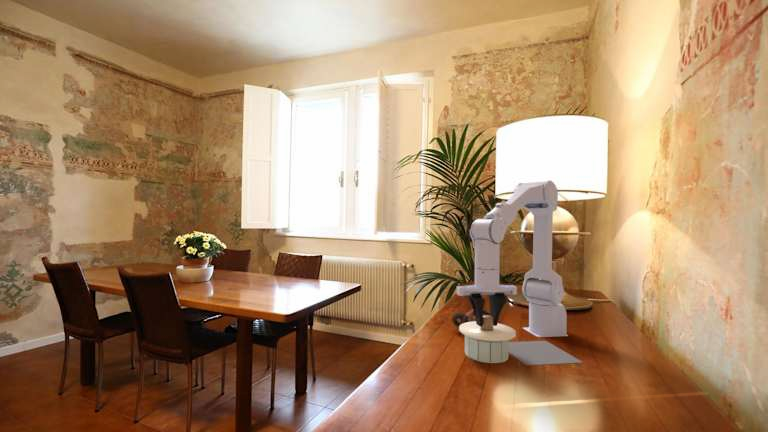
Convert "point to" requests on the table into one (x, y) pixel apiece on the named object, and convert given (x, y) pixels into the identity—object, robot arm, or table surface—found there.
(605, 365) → the table surface
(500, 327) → the lid
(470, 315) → the dark brown rounded loops
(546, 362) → the mat
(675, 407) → the table surface
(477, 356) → the bowl
